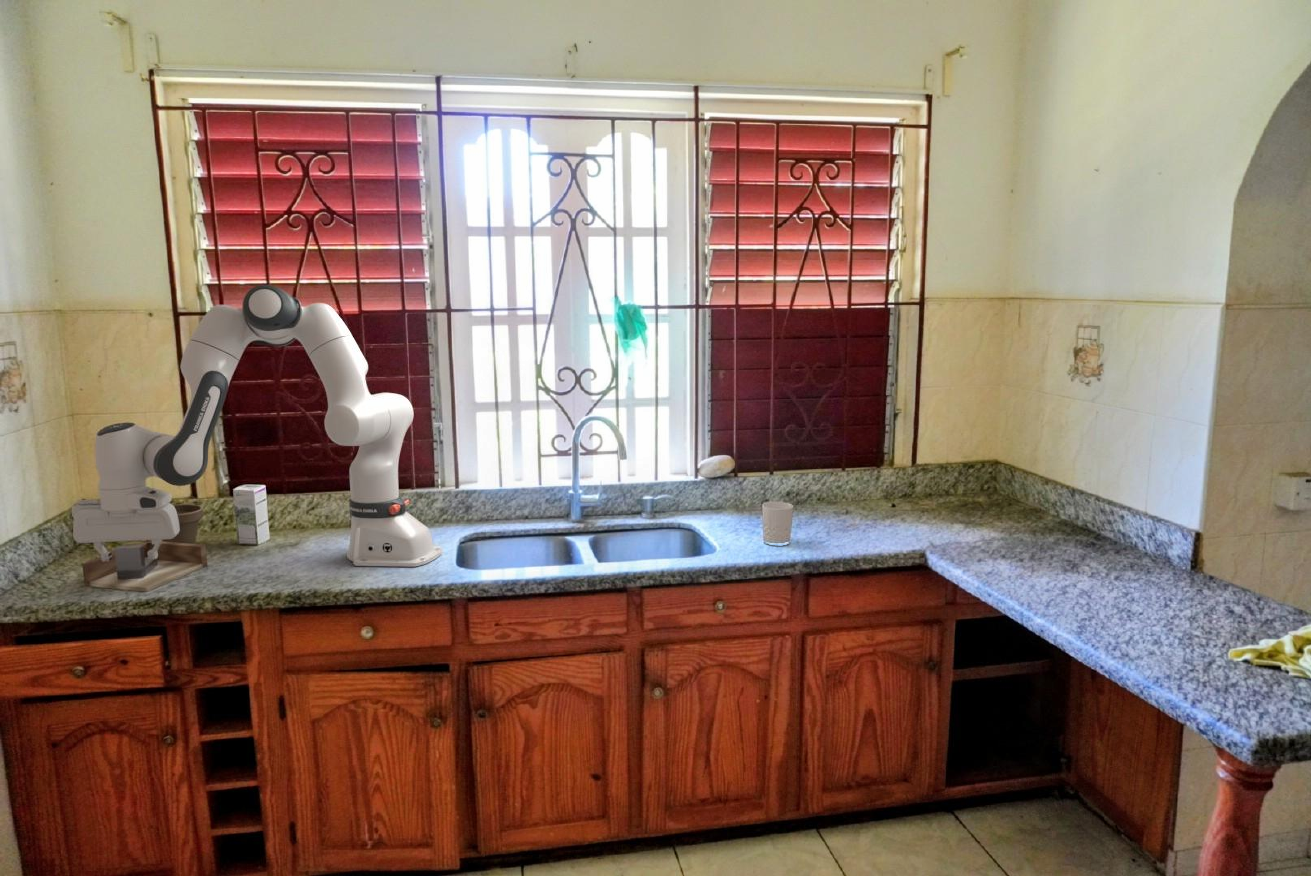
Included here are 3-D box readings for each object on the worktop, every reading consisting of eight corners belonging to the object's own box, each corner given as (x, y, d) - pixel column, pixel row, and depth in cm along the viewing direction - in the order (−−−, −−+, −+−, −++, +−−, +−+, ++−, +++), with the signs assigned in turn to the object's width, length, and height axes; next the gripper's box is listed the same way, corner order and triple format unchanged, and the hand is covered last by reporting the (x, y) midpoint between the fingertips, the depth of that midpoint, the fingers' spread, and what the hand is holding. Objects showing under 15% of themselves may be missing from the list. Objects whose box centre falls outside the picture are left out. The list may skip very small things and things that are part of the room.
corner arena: (207, 565, 202) (205, 544, 201) (147, 591, 185) (145, 569, 184) (149, 560, 206) (147, 540, 205) (84, 585, 188) (82, 563, 188)
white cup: (796, 541, 224) (798, 504, 223) (784, 549, 218) (785, 510, 216) (769, 536, 229) (770, 500, 227) (755, 544, 222) (757, 506, 220)
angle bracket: (142, 578, 190) (139, 547, 189) (117, 579, 189) (114, 548, 188) (157, 565, 199) (154, 535, 198) (134, 566, 198) (131, 537, 197)
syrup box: (270, 538, 224) (266, 484, 221) (258, 545, 218) (253, 489, 215) (249, 538, 224) (245, 483, 222) (236, 544, 218) (232, 488, 216)
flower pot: (209, 539, 222) (206, 501, 221) (202, 552, 212) (198, 512, 210) (159, 543, 219) (155, 505, 217) (148, 557, 208) (144, 516, 206)
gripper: (63, 504, 183) (71, 566, 185) (169, 500, 187) (175, 561, 189) (77, 496, 189) (84, 557, 191) (179, 493, 193) (184, 552, 195)
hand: (130, 559), depth 190 cm, fingers open, 8 cm apart
